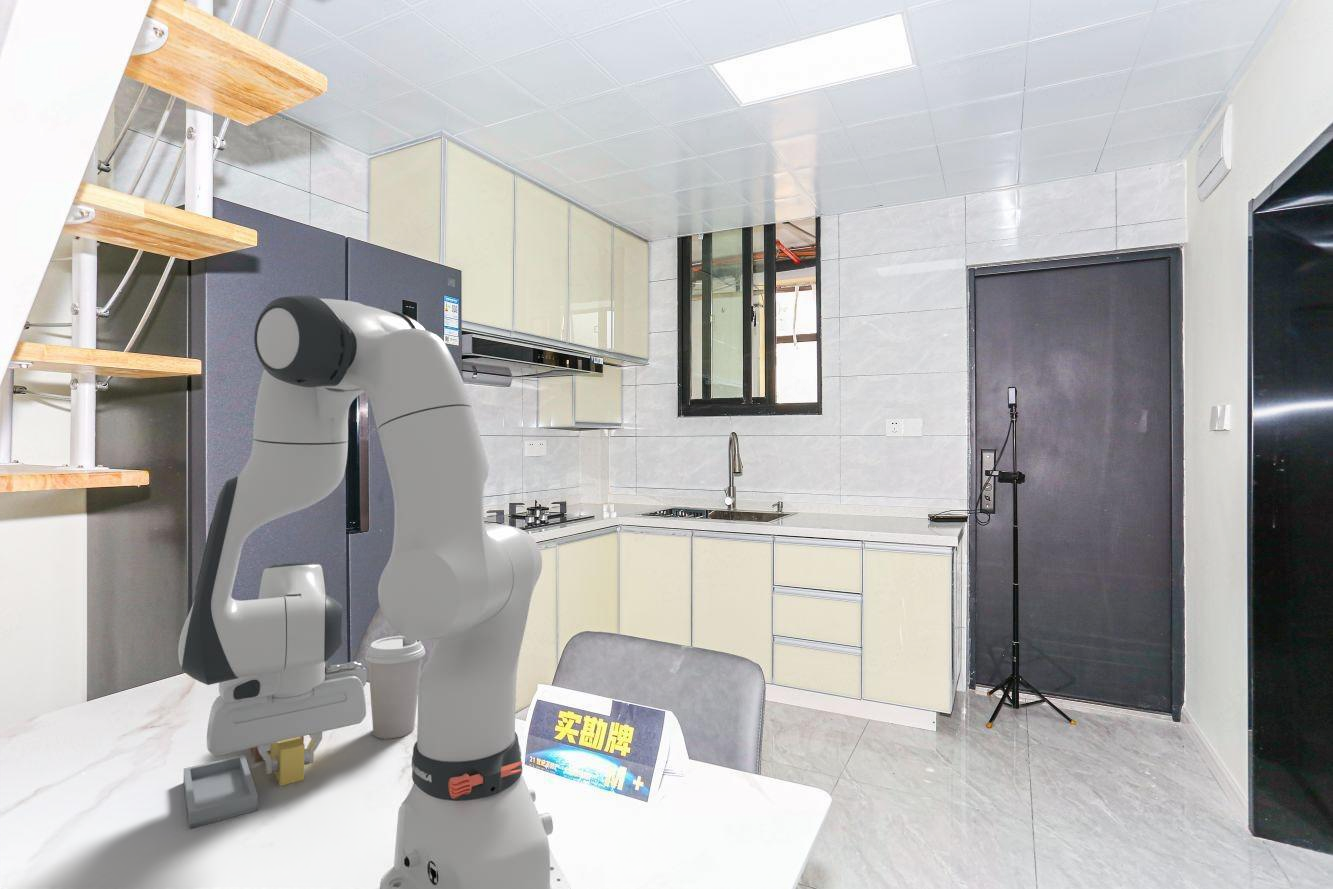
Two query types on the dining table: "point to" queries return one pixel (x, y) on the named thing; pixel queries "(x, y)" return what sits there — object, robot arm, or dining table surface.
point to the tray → (219, 791)
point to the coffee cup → (394, 684)
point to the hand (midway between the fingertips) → (289, 767)
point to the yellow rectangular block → (289, 760)
